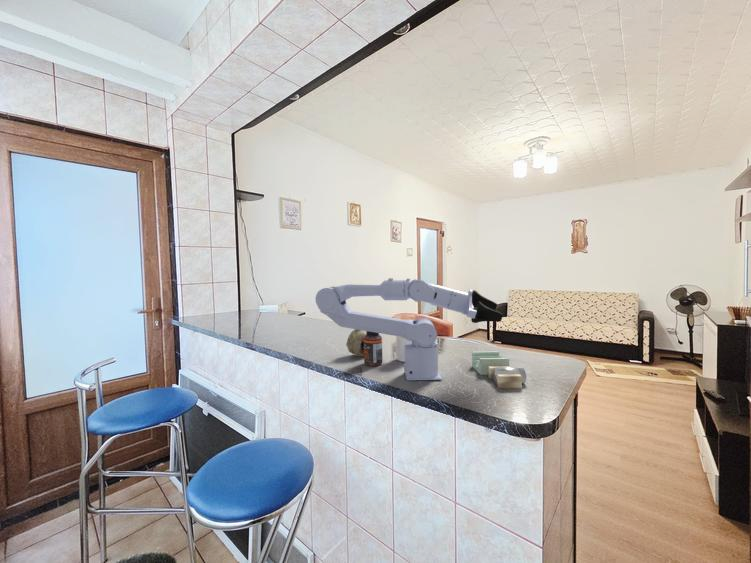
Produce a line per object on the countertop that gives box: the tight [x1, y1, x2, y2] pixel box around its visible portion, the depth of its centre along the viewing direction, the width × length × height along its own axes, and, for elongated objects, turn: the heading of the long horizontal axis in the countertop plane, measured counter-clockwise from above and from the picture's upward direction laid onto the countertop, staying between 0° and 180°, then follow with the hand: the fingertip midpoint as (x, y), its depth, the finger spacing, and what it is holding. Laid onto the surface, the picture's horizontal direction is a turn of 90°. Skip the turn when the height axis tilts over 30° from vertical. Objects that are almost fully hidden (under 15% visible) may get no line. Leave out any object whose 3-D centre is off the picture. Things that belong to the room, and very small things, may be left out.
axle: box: [493, 366, 527, 385], centre depth 80 cm, size 7×4×4 cm, turn 89°
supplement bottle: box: [363, 331, 383, 367], centre depth 98 cm, size 6×6×11 cm
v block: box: [471, 350, 510, 376], centre depth 90 cm, size 8×8×4 cm
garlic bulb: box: [345, 329, 367, 358], centre depth 108 cm, size 9×8×10 cm
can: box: [395, 336, 412, 363], centre depth 102 cm, size 6×6×12 cm
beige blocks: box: [487, 365, 523, 389], centre depth 80 cm, size 6×8×3 cm
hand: (498, 312), depth 83 cm, fingers open, 7 cm apart
